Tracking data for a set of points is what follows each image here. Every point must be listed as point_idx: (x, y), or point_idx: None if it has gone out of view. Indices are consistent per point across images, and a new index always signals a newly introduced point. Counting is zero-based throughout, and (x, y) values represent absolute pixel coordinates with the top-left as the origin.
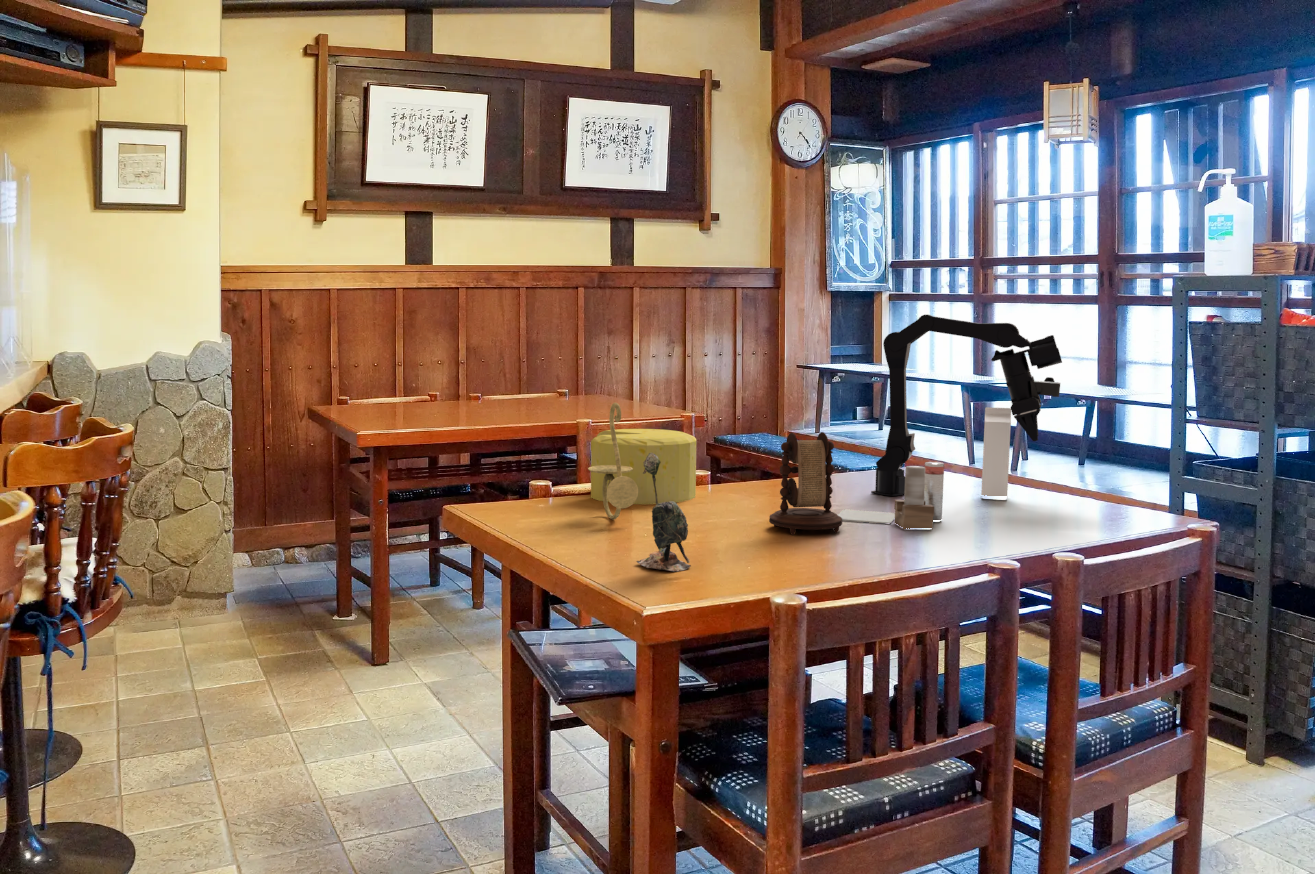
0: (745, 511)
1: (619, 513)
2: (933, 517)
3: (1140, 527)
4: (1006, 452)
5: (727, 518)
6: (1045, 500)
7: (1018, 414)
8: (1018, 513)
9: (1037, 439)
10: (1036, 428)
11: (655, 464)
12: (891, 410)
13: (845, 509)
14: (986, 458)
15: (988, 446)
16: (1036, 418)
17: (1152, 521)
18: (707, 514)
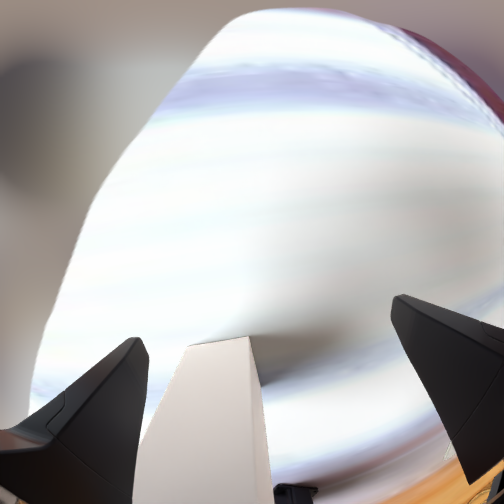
0: (449, 491)
1: (487, 489)
2: None
3: (405, 62)
4: (254, 418)
5: None
6: (181, 249)
7: (485, 472)
8: (405, 273)
9: (406, 296)
10: (468, 318)
11: None
12: None
13: (444, 459)
14: (267, 449)
15: (269, 476)
16: (75, 418)
17: (337, 36)
18: (461, 491)
